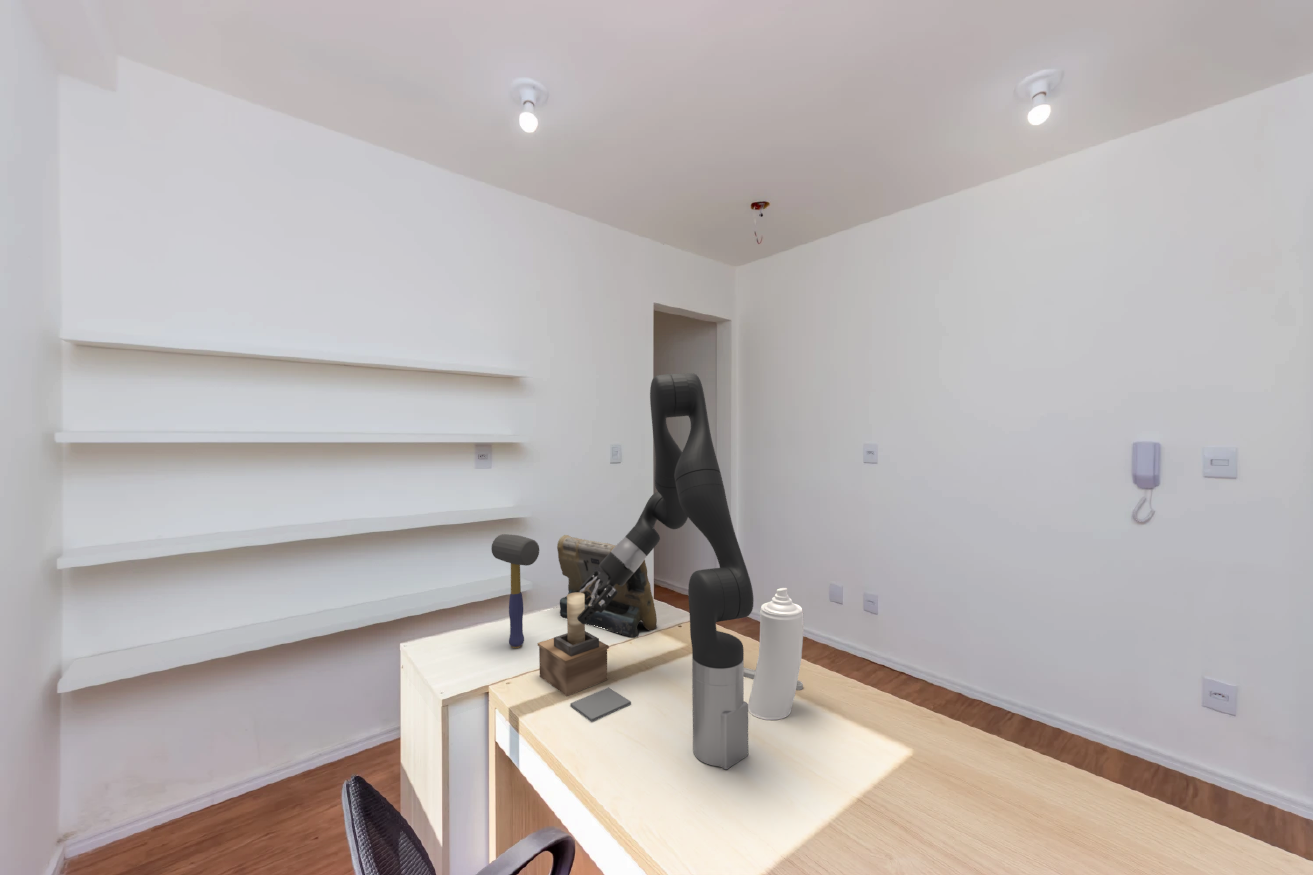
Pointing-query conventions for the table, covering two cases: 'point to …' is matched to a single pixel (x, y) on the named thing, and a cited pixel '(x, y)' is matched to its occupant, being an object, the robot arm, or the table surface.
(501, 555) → the rubber mallet
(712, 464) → the robot arm
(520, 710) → the table surface
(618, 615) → the tablet
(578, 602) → the wooden cylinder
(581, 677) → the wooden box
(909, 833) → the table surface
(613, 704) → the rubber mat
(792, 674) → the spray can
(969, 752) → the table surface
